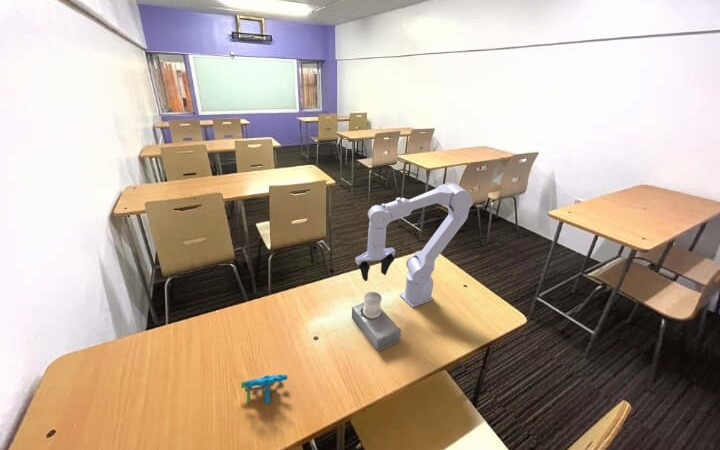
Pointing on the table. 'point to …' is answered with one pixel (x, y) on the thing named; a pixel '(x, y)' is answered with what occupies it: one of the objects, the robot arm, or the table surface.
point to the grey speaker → (377, 328)
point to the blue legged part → (262, 381)
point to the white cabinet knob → (372, 305)
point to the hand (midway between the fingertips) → (374, 276)
